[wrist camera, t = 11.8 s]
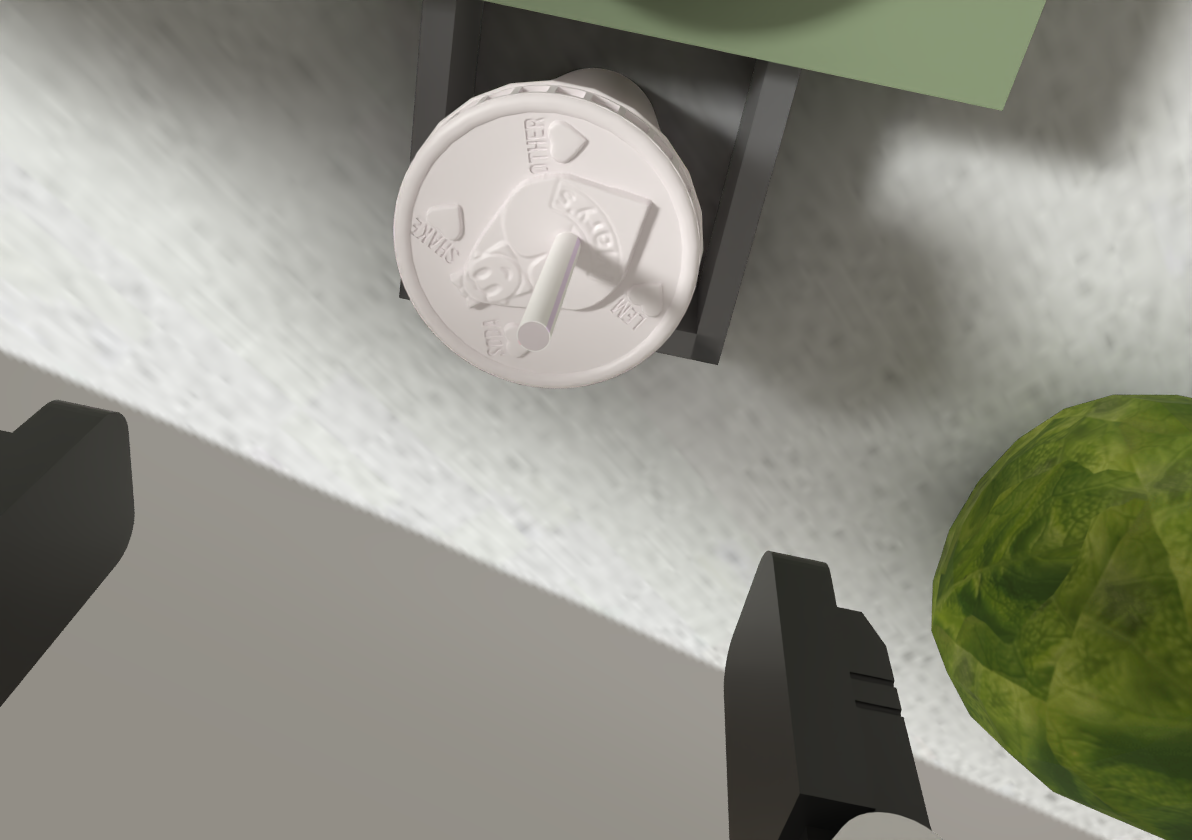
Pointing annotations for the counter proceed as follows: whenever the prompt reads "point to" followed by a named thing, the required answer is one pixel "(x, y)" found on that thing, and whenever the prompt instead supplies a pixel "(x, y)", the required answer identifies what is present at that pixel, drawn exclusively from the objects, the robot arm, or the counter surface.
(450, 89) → the green base
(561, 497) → the counter surface
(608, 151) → the smoothie
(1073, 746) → the lettuce
